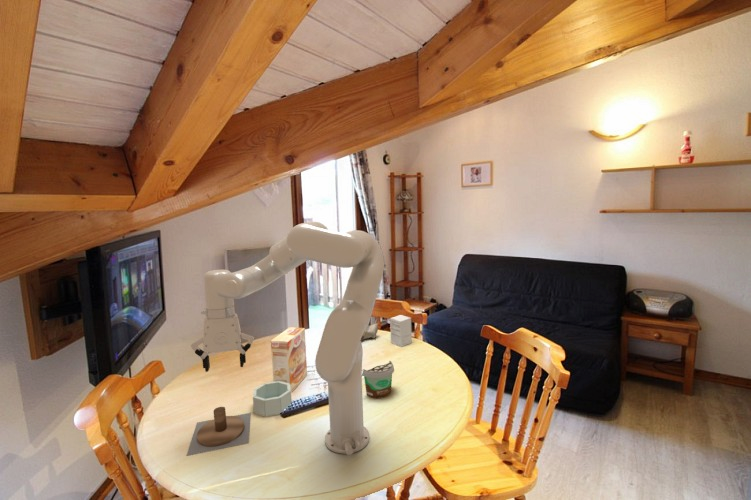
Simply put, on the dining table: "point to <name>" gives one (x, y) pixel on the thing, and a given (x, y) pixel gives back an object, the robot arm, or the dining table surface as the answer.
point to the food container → (379, 380)
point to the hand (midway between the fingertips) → (225, 367)
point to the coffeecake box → (289, 357)
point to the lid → (220, 429)
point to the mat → (242, 439)
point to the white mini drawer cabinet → (400, 330)
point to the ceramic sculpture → (370, 331)
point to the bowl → (271, 398)
